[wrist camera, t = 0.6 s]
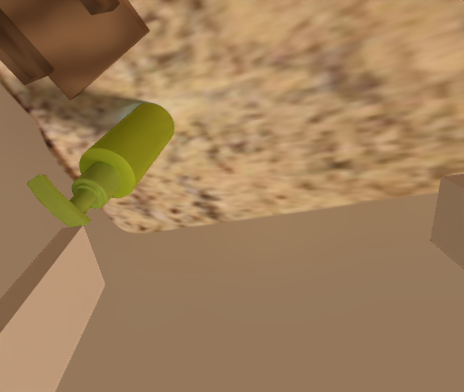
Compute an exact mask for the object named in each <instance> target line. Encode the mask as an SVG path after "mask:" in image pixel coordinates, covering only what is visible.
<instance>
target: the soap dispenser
mask: <svg viewBox="0 0 464 392" xmlns="http://www.w3.org/2000/svg"><path fill="white" fill-rule="evenodd" d="M173 134H174V122H173V119H172V117H171V116H170V114H169V113H168V112H167V111H166V110H165V109H164V108H163V107H161V106H159V105H157V104H153V103H145V104H142V105H140V106H138V107H137V108H136V109H135V110H134V111H132V112H131V113H130V114H129V115H128V116H127V117H125V118H124V119H123V120H122V121H121V122H120V123H118V124H117V125H116V126H115V127H114V128H113V129H111V130H110V131H109V132H108V133H107V134H106V135H105V136H103V137H102V138H101V139H100V140H99V141H98V142H96V143H95V144H94V145H93V146H92V147H91V148H89V149H88V150H87V151H86V152H85V153H84V154H83V155H82V157H81V159H80V164H79V166H80V172H81V174H82V175H81V176H80V177H78V178H77V179H76V180H75V181H74V183H73V185H72V192H73V194H74V197H72V199H71V200H70V201H69V200H68V199H67V198H66V197H65V196H64V195H63V194H61V192H60V191H59V190H58V189H57V188H56V187H55V186H54V185H53V183H52V182H51V181H50V180H49V178H48V177H47V176H46V175H41V174H39V175H37V176H36V177H35V178H33V179H32V180H31V181H29V182H28V183H27V185H28V187H29V188H30V189H31V191H32V192H33V193H34V195H35V196H36V197H37V199H38V200H39V201H40V202H41V203H42V204H43V205H44V206H45V207H46V208H47V209H48V210H49V211H50V212H51V213H52V214H53V215H55V216H56V217H57V218H58V219H59V220H61V221H62V222H63V223H65V224H66V225H67V226H69V227H74V226H81V225H83V226H85V225H87V224H88V223H89V222H90V221H91V219H90V218H89V217H88V216H87V215H85V213H86V212H87V211H88V210H89V209H90V208H101V207H103V206H104V205H105V204H106V203H107V202H108V201H109V200H110V198H111V197H112V198H121V197H125V196H127V195H129V194H130V193H131V192H132V191H133V190H134V188H135V187H136V186H137V184H138V183H139V181H140V180H141V179H142V177H143V176H144V175H145V173H146V172H147V171H148V169H149V168H150V166H151V165H152V164H153V162H154V161H155V160H156V158H157V157H158V155H159V154H160V153H161V151H162V150H163V149H164V147H165V146H166V145H167V143H168V142H169V140H170V139H171V138H172V136H173Z"/></svg>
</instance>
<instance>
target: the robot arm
mask: <svg viewBox="0 0 464 392" xmlns="http://www.w3.org/2000/svg"><path fill="white" fill-rule="evenodd" d="M430 241H431V242H433V243H434V244H435V245H436V246H437V247H439V248H440V249H441V250H442V251H443V252H444V253H445V254H447V255H448V256H449V257H450V258H451V259H453V260H454V261H455V262H456V263H457V264H459V265H460V266H461V267H462V268H463V269H464V175H463V174H458V175H451V176H443V177H441V182H440V188H439V193H438V199H437V205H436V211H435V217H434V223H433V228H432V235H431V240H430ZM104 286H105V283H104V280H103V277H102V275H101V272H100V269H99V267H98V264H97V261H96V259H95V256H94V253H93V251H92V248H91V245H90V243H89V240H88V237H87V235H86V232H85V229H84V226H83V225H81V226H74V227H67V228H62V229H61V230H60V231H59V232H58V233H57V235H56V236H55V237H54V238H53V239H52V240H51V242H50V243H49V244H48V245H47V246H46V247H45V248H44V249H43V251H42V252H41V253H40V254H39V255H38V256H37V257H36V259H35V260H34V261H33V262H32V263H31V264H30V265H29V267H28V268H27V269H26V270H25V271H24V272H23V273H22V275H21V276H20V277H19V278H18V279H17V280H16V281H15V283H14V284H13V285H12V286H11V287H10V288H9V289H8V291H7V292H6V293H5V294H4V295H3V297H1V299H0V392H55V390H56V388H57V386H58V384H59V382H60V380H61V378H62V376H63V373H64V371H65V369H66V367H67V365H68V363H69V361H70V359H71V356H72V354H73V352H74V350H75V348H76V346H77V343H78V342H79V339H80V337H81V335H82V333H83V331H84V329H85V327H86V325H87V322H88V320H89V318H90V316H91V314H92V312H93V310H94V308H95V305H96V303H97V301H98V299H99V297H100V295H101V293H102V291H103V288H104Z"/></svg>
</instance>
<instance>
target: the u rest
mask: <svg viewBox="0 0 464 392" xmlns="http://www.w3.org/2000/svg"><path fill="white" fill-rule="evenodd" d="M149 31H150V30H149V29H148V28H147V26H146V25H145V23H144V22H143V21H142V19H141V18H140V16H139V15H138V14H137V12H136V11H135V9H134V8H133V7H132V5H131V4H130V2H129V1H128V0H0V60H1V61H2V62H3V63H4V64H5V65H6V67H7V68H8V69H9V70H10V71H11V72H12V73H13V74H14V75H15V76H16V77H17V78H18V79H19V80H20V81H21V82H22V83H23V84H24V85H26V84H28V83H31V82H33V81H36V80H38V79H41V78H43V77H45V76H49V77H50V79H51V80H52V81H53V82H54V83H55V84H56V85H57V86H58V87H59V88H60V89H61V91H62V92H63V93H64V94H65V95H66V96H67V97H68V98H69V99H70V100H71V99H72V98H74V97H76V96H77V95H78V94H80V93H81V92H82V91H83V90H84V89H85V88H86V87H87V86H89V85H90V84H91V83H92V82H93V81H94V80H95V79H96V78H98V77H99V76H100V75H101V74H102V73H103V72H104V71H105V70H106V69H108V68H109V67H110V66H111V65H112V64H113V63H114V62H115V61H117V60H118V59H119V58H120V57H121V56H122V55H123V54H124V53H126V52H127V51H128V50H129V49H130V48H131V47H132V46H133V45H135V44H136V43H137V42H138V41H139V40H140V39H141V38H142V37H144V36H145V35H146V34H147V33H148V32H149Z"/></svg>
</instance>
